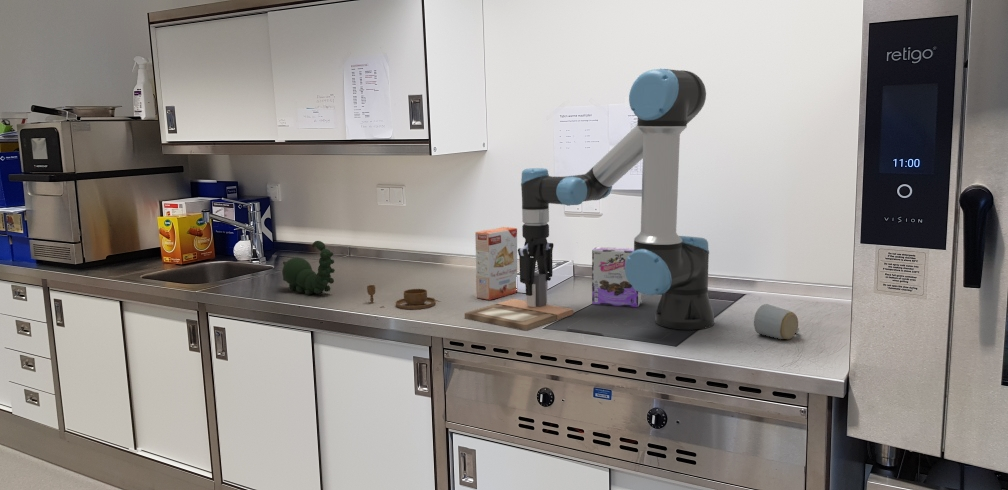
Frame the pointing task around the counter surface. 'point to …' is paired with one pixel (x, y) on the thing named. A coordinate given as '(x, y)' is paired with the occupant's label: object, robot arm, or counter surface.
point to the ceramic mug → (775, 322)
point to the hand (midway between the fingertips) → (536, 304)
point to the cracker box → (496, 262)
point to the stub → (540, 300)
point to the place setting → (409, 298)
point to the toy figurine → (309, 272)
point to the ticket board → (510, 316)
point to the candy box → (612, 278)
